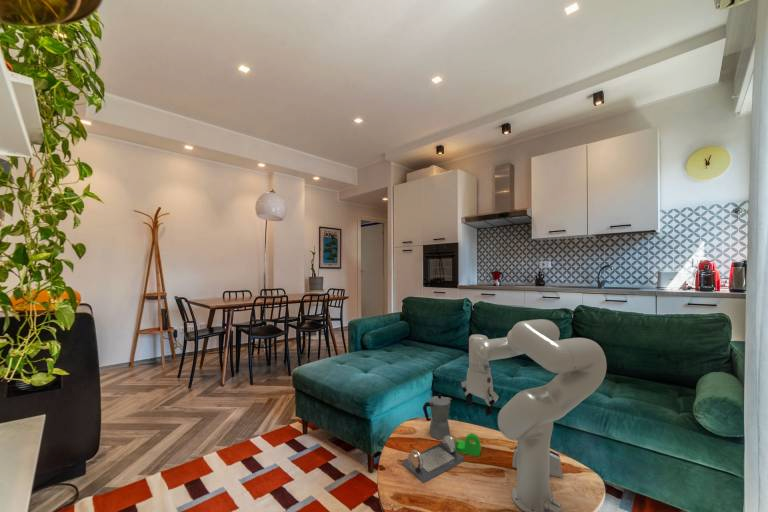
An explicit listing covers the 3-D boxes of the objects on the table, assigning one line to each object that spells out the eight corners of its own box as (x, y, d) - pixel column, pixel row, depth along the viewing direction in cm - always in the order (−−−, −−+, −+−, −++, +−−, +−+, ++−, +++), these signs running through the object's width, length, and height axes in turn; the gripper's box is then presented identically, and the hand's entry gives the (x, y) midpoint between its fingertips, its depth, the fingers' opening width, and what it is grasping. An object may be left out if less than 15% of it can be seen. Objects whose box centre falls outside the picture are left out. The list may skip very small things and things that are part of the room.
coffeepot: (444, 425, 151) (444, 387, 151) (458, 435, 143) (458, 394, 143) (417, 434, 144) (417, 393, 144) (429, 445, 136) (429, 402, 136)
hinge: (560, 472, 119) (561, 446, 118) (563, 482, 115) (563, 456, 114) (511, 462, 125) (512, 437, 124) (512, 471, 121) (512, 446, 119)
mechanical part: (481, 449, 133) (481, 430, 133) (479, 457, 128) (479, 437, 128) (451, 442, 138) (451, 424, 138) (448, 450, 132) (448, 431, 132)
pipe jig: (442, 445, 135) (442, 428, 135) (464, 461, 125) (464, 441, 125) (402, 464, 123) (402, 444, 123) (423, 482, 113) (423, 461, 113)
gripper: (503, 371, 124) (503, 415, 124) (467, 359, 138) (468, 399, 138) (491, 375, 120) (491, 421, 120) (455, 362, 134) (455, 404, 134)
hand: (478, 409), depth 129 cm, fingers open, 9 cm apart
